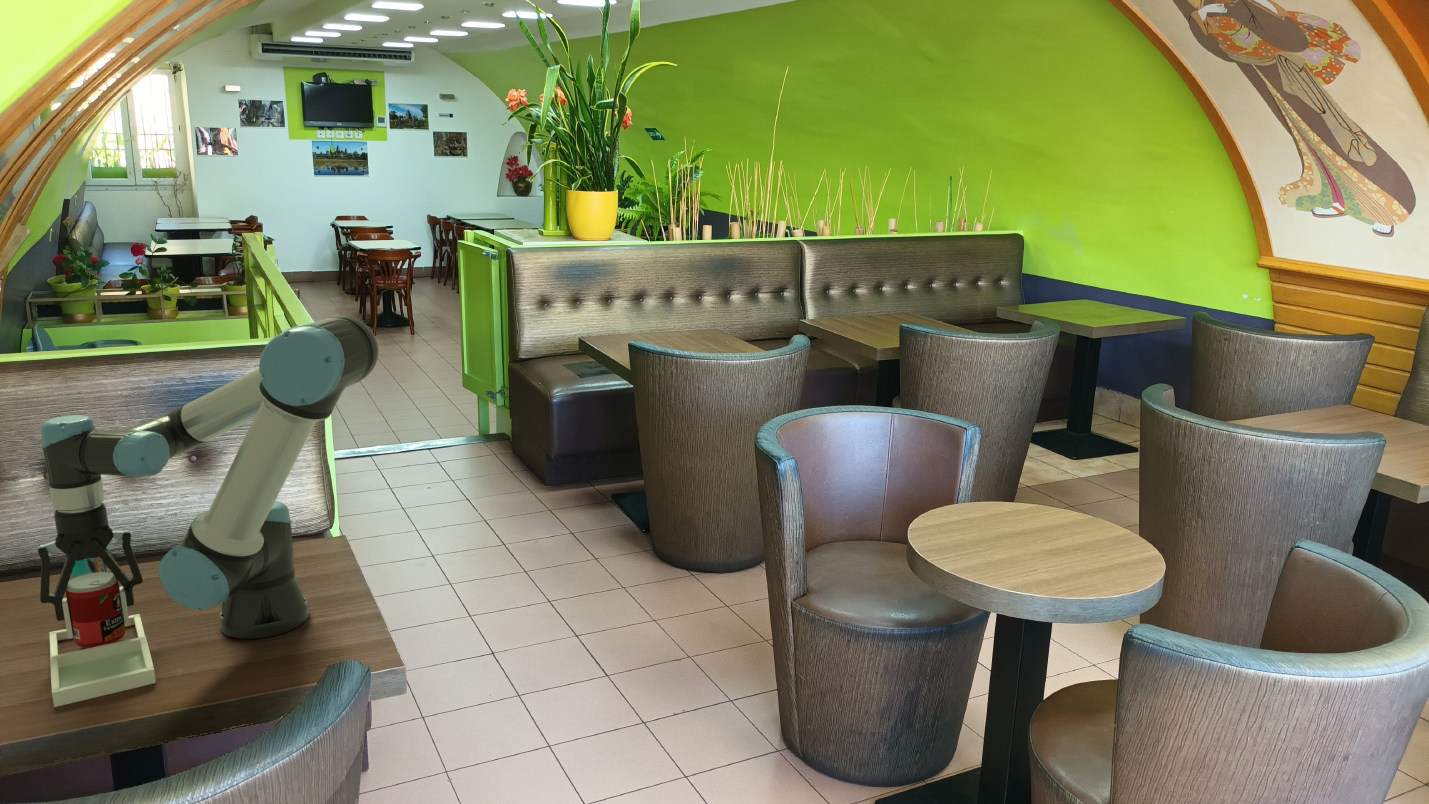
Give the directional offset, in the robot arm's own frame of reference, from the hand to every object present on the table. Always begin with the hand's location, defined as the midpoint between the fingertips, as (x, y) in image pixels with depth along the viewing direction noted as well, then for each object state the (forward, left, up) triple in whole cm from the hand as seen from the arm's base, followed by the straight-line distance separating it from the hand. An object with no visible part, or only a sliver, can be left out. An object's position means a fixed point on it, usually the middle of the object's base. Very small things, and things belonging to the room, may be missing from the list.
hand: (99, 629), depth 174 cm
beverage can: (+16, -14, -3) cm, 22 cm away
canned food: (0, 0, -2) cm, 2 cm away
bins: (-5, +4, -3) cm, 7 cm away
